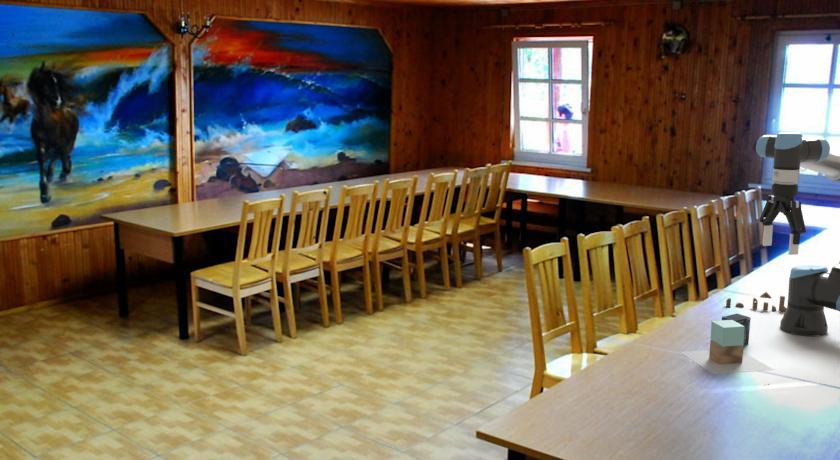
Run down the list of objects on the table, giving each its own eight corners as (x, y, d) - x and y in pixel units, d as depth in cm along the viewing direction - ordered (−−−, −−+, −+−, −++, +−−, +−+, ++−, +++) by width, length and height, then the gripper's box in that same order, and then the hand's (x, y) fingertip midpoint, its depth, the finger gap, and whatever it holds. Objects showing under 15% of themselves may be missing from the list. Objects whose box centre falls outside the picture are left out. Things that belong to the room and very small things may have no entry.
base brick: (732, 356, 256) (733, 338, 255) (742, 362, 251) (743, 344, 249) (709, 358, 254) (710, 340, 253) (718, 364, 249) (719, 345, 248)
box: (733, 351, 264) (735, 320, 262) (718, 347, 269) (721, 316, 267) (748, 347, 268) (751, 316, 266) (734, 343, 273) (736, 312, 271)
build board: (736, 351, 264) (737, 348, 264) (773, 373, 245) (773, 369, 245) (680, 355, 261) (680, 352, 260) (712, 377, 241) (712, 374, 241)
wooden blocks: (809, 314, 308) (811, 295, 307) (810, 316, 306) (812, 297, 304) (726, 305, 318) (727, 287, 317) (726, 307, 316) (727, 289, 314)
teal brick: (730, 338, 255) (732, 319, 254) (743, 345, 249) (744, 326, 247) (710, 339, 254) (711, 321, 253) (722, 346, 247) (723, 327, 246)
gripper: (751, 178, 262) (746, 242, 266) (799, 188, 238) (793, 258, 242) (772, 177, 263) (767, 241, 267) (822, 187, 239) (816, 257, 243)
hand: (779, 249), depth 254 cm, fingers open, 13 cm apart
